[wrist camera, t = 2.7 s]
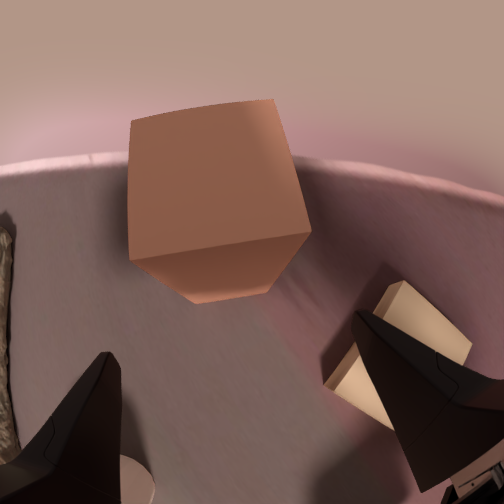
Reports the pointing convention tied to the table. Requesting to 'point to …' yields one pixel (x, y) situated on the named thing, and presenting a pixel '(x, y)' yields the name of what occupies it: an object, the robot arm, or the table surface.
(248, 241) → the terracotta post
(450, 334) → the birch block
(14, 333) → the table surface
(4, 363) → the elongated rock
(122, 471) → the white cup
